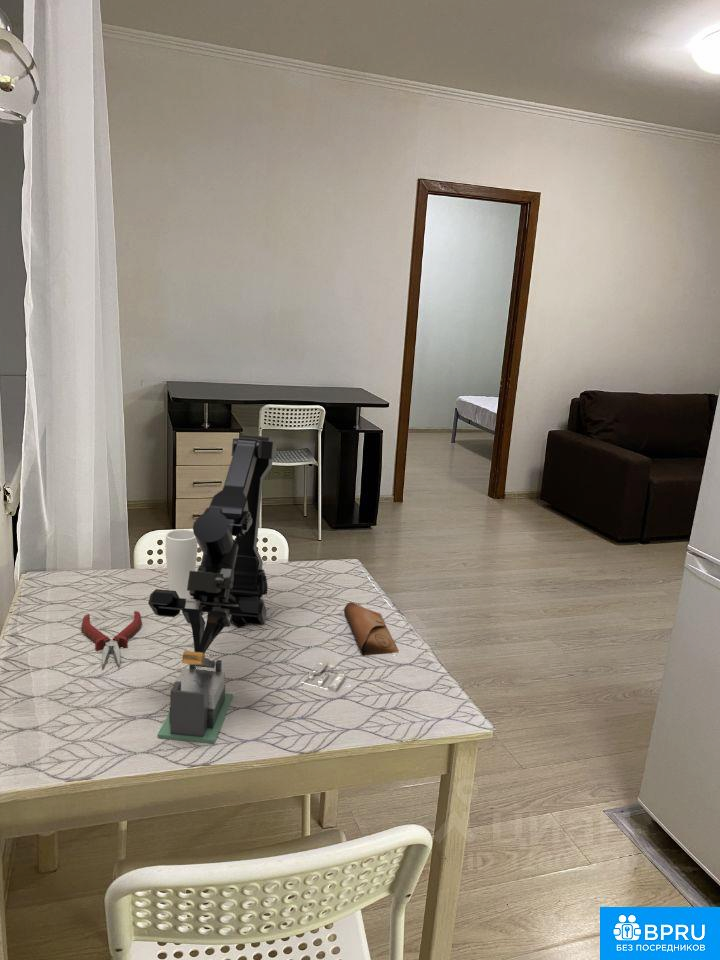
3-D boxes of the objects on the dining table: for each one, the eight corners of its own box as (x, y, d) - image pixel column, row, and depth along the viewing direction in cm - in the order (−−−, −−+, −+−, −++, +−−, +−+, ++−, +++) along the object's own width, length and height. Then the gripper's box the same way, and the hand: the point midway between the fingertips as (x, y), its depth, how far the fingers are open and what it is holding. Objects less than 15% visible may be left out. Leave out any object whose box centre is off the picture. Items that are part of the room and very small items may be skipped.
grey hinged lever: (198, 657, 121) (183, 650, 111) (215, 659, 121) (202, 652, 111) (196, 668, 120) (181, 662, 110) (214, 670, 120) (200, 664, 110)
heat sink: (184, 696, 121) (184, 666, 120) (224, 700, 121) (225, 670, 120) (169, 724, 114) (169, 692, 112) (212, 728, 113) (213, 697, 112)
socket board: (182, 691, 124) (182, 649, 121) (233, 696, 123) (234, 654, 121) (157, 737, 111) (157, 691, 109) (214, 743, 111) (215, 697, 109)
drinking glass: (182, 588, 164) (183, 526, 159) (203, 597, 160) (204, 534, 156) (158, 597, 158) (158, 534, 154) (179, 607, 154) (179, 542, 150)
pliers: (77, 675, 127) (76, 662, 126) (82, 623, 145) (82, 611, 145) (144, 669, 131) (144, 657, 130) (141, 619, 149) (141, 608, 148)
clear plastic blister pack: (335, 695, 127) (336, 687, 127) (300, 685, 130) (300, 678, 129) (351, 673, 135) (351, 666, 134) (317, 665, 137) (318, 658, 136)
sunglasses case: (402, 653, 142) (388, 627, 140) (371, 671, 142) (357, 645, 139) (380, 612, 159) (367, 589, 157) (352, 628, 159) (339, 605, 156)
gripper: (152, 543, 116) (127, 635, 108) (266, 553, 115) (249, 647, 107) (167, 571, 125) (145, 658, 117) (272, 580, 125) (257, 668, 117)
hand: (198, 657), depth 114 cm, fingers closed, pressing on grey hinged lever
